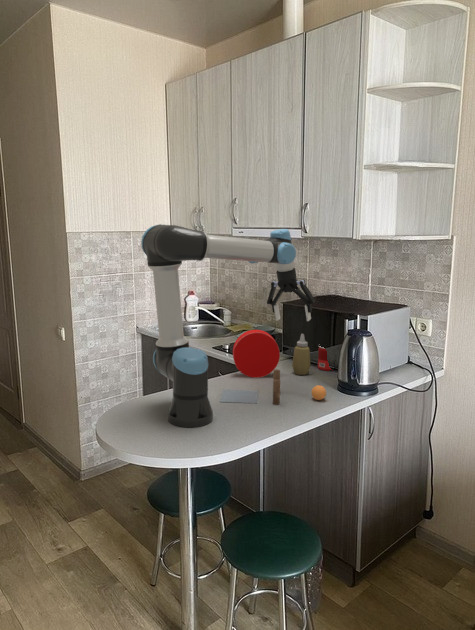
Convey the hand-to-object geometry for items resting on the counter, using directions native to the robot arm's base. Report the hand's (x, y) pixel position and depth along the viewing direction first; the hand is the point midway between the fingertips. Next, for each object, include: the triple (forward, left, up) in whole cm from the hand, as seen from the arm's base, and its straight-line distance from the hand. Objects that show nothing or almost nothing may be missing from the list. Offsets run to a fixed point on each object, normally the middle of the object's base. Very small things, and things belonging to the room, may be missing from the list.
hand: (293, 320), depth 201 cm
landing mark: (-20, -17, -27) cm, 38 cm away
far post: (-6, -10, -27) cm, 30 cm away
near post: (-6, -23, -27) cm, 36 cm away
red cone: (+17, +25, -27) cm, 41 cm away
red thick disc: (-15, +11, -27) cm, 33 cm away
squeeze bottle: (+5, +16, -27) cm, 32 cm away
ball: (+10, -17, -25) cm, 31 cm away
